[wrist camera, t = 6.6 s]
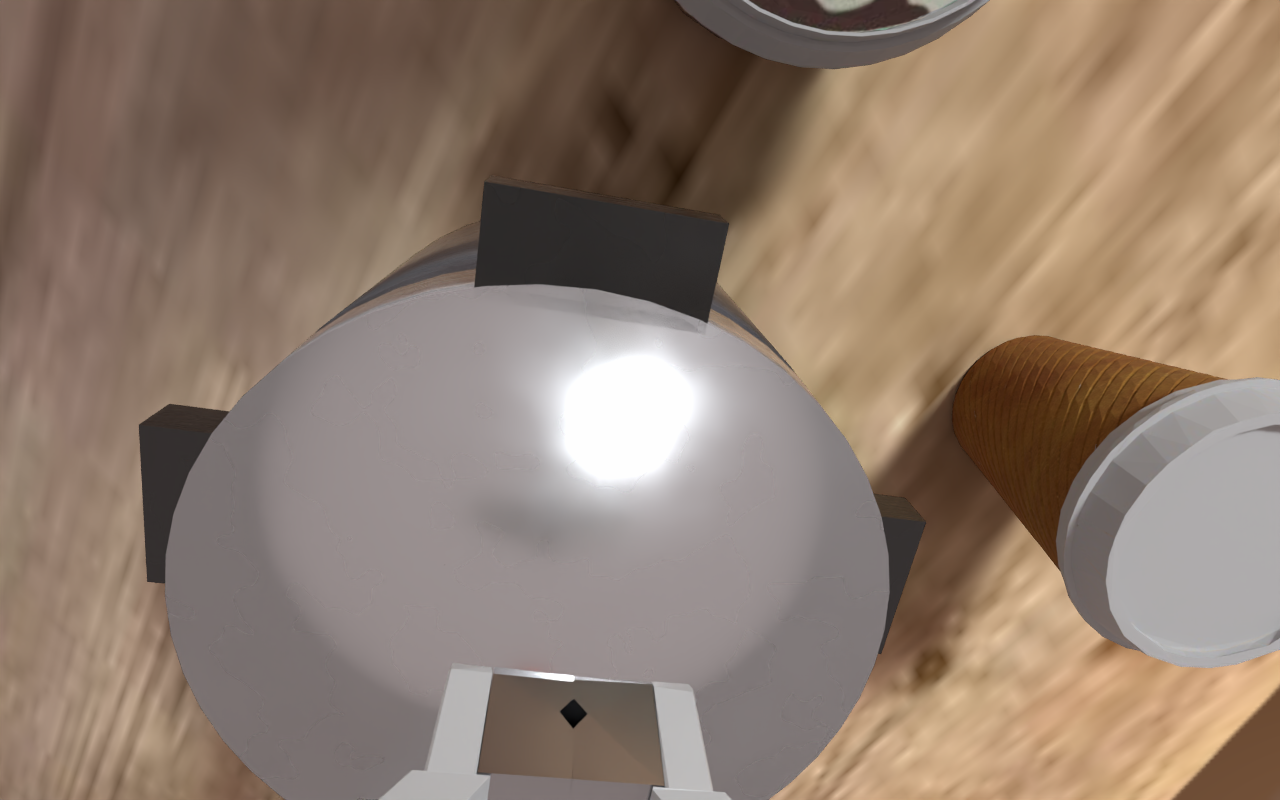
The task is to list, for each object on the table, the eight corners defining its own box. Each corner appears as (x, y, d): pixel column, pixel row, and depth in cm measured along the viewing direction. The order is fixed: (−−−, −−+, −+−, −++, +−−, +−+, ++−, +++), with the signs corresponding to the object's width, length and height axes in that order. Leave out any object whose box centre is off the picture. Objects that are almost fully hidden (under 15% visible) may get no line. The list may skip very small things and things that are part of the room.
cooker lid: (185, 117, 16) (78, 123, 12) (973, 255, 18) (1061, 291, 15) (215, 795, 23) (152, 914, 20) (776, 831, 25) (805, 943, 22)
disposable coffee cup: (924, 520, 35) (1090, 710, 23) (906, 326, 31) (1089, 439, 20) (1125, 473, 35) (1387, 641, 23) (1128, 274, 31) (1437, 358, 20)
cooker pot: (279, 159, 27) (95, 180, 17) (868, 260, 30) (1018, 330, 20) (273, 604, 34) (137, 817, 23) (760, 651, 36) (831, 858, 26)
